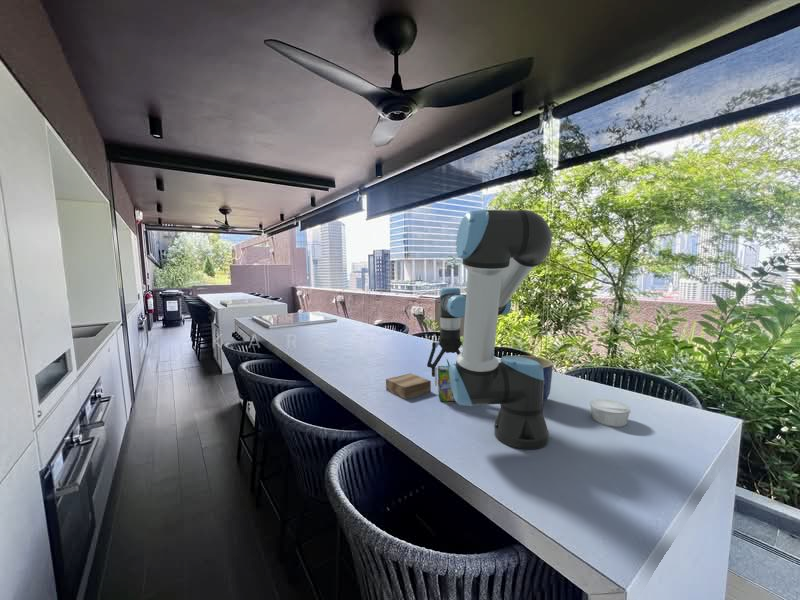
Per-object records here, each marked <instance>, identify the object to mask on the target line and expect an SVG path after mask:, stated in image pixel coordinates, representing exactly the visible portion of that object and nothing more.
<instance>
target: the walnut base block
mask: <svg viewBox="0 0 800 600" xmlns="http://www.w3.org/2000/svg"><path fill="white" fill-rule="evenodd" d="M431 384H432V382H431V380H430V379H427V378H425V377H421V376H419V375H416V374H413V373H407V374H402V375H398V376H393V377H389V378H386V379H385V390H386V391H387V392H389V393H391V394H393V395H395V396H397V397H399V398H401V399H403V400H407V399H412V398H415V397H419V396H421V395H425V394H429V393H431V390H432V389H431V387H432V385H431Z"/></svg>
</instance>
